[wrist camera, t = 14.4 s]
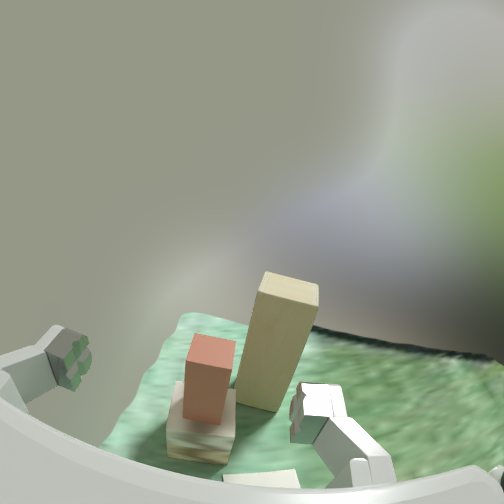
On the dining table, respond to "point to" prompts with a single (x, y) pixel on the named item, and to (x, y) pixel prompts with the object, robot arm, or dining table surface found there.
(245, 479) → the page
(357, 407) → the dining table surface
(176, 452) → the tower base
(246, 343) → the tall beige pillar
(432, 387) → the dining table surface
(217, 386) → the tall brick
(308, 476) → the dining table surface
